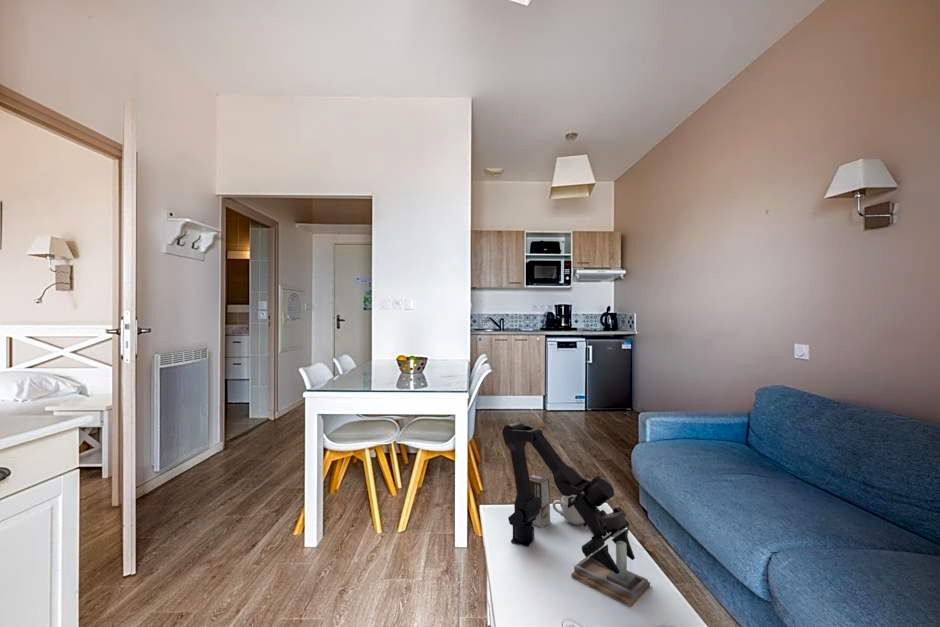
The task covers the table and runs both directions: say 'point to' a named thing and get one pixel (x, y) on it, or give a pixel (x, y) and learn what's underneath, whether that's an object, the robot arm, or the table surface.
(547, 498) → the coffee box
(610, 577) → the fader knob
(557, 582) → the table surface
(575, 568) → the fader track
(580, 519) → the teacup
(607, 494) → the robot arm
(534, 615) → the table surface
